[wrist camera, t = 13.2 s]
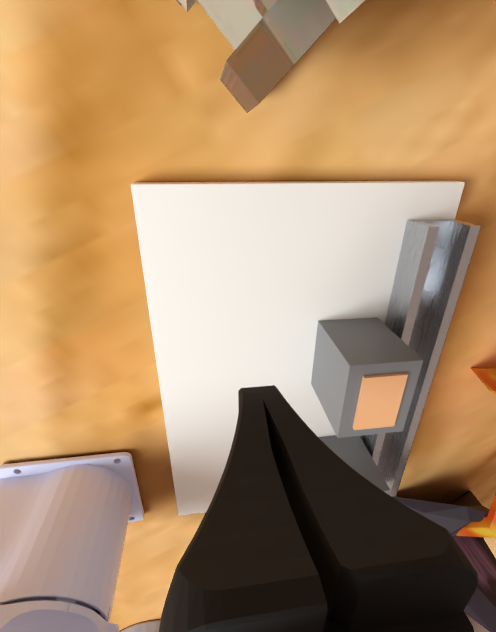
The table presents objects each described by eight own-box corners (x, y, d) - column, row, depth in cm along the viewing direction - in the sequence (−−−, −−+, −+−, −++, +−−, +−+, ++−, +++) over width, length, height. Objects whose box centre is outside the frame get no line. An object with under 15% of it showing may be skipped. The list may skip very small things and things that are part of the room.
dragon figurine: (698, 424, 20) (572, 723, 25) (509, 355, 31) (451, 568, 37) (551, 425, 18) (450, 748, 23) (409, 351, 29) (364, 577, 35)
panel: (179, 502, 29) (178, 515, 28) (134, 182, 17) (130, 184, 16) (373, 478, 31) (379, 489, 30) (450, 180, 19) (465, 182, 18)
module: (310, 383, 23) (338, 440, 19) (318, 320, 21) (351, 368, 16) (364, 379, 24) (404, 433, 19) (377, 317, 22) (425, 362, 17)
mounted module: (304, 480, 28) (324, 546, 23) (309, 437, 26) (333, 500, 21) (348, 475, 28) (378, 538, 24) (357, 432, 26) (391, 492, 22)
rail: (351, 479, 29) (361, 500, 27) (407, 220, 19) (428, 227, 17) (383, 475, 29) (395, 496, 27) (454, 219, 19) (480, 225, 17)
